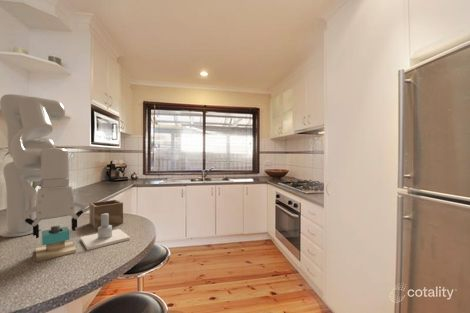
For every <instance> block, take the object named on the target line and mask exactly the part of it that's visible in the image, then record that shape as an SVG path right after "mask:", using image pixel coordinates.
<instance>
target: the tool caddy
mask: <svg viewBox="0 0 470 313" xmlns="http://www.w3.org/2000/svg"><path fill="white" fill-rule="evenodd" d="M105 213H108V214H109V225H112V226H115V225H121V224H124V202H122V201H120V200H118V199H111V200H104V201H95V202H89V225H91V226H92V227H93V229H98V227H100V226H101V214H105Z"/></svg>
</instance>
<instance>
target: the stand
mask: <svg viewBox="0 0 470 313" xmlns="http://www.w3.org/2000/svg"><path fill="white" fill-rule="evenodd" d="M60 228H61V225H54V226H51V227H50V229H51V233H55V232H60ZM74 253H77V248H76V247H75V244H74V242H73V240H72V239H70V240H66V241H61V242H56V243H52V244H47V245H41V246H37V247H35V259H36V263H39V262H42V261H47V260H50V259H54V258H58V257H62V256H66V255H70V254H74Z"/></svg>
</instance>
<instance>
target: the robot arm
mask: <svg viewBox="0 0 470 313" xmlns="http://www.w3.org/2000/svg"><path fill="white" fill-rule="evenodd" d="M65 110H66V109H65V106H64V104H62V102H60V101H59V100H54V99H49V98H42V97H37V96H27V95H22V94H11V93H9V94H4V95H2V96H1V98H0V112H1V114H2V117H3V119H4V121H5V123H6V127H7V129H6V130H7V131H6V132H7V152H8V155H10V156H11V158H12V161H10V162H8V163H6V164H5V165H4V166H3V168H2V172H3V177H4V182H5V189H6V230H5V231H3V232H2V233H1V237H2V238H15V237H16V238H17V237H22V236H27V235H30V234H32V236H33V237H35V239H39V238H40V231H41V230H42V229H43V228H42V226H41V225H39V223H40V222H41V221H42V220H43V221H44V220H51V219H55V218H60V217H61V218H62V217H68V216H71V217H72V218H71V230H72V232H74V231H76V228H78V219H79V218H80V217H81V216H82V214H83V213H84V211H85V209H86V208H87V205H86V204H83V203H80V202H76V201H75V197H74V196H75V195H74V191H73V186H71V185H70V178H69V177H70V175H69V174H70V173H69V170H70V169H69V168H70V167H69V165H70V164H69V163H70V162H69V160H70V159H69V150H67V149H66V148H60V147H56V144H55V142H54V140H52V139H51V138H49V137H46V136H48V135H50V134H51V133H52V132H53V130H54V127H53V124H52V121H62V120H63V119H64V118H65V115H66V111H65ZM30 183H34V187H37V186H38V187H40V188H38V190H36V189H35V188H34V187H33V186H32V185H31V184H30ZM75 207H77V208H79V210H78V211H77V212H75V209H76V208H75Z"/></svg>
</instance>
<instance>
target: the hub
mask: <svg viewBox="0 0 470 313" xmlns="http://www.w3.org/2000/svg"><path fill="white" fill-rule="evenodd" d="M129 240H131V236H129V234H127V233H125V232H124V231H123V230H121V229H120V228H118V229H113V225H109V214H108V213H105V214H101V226H100V227H98V228H97V233H93V234H90V235H84V236H80V242H81V243H82V244H83V245H84V248H85V249H86V251H89V250H94V249H98V248H102V247H105V246H110V245H113V244H119V243H121V242H126V241H129Z"/></svg>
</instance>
